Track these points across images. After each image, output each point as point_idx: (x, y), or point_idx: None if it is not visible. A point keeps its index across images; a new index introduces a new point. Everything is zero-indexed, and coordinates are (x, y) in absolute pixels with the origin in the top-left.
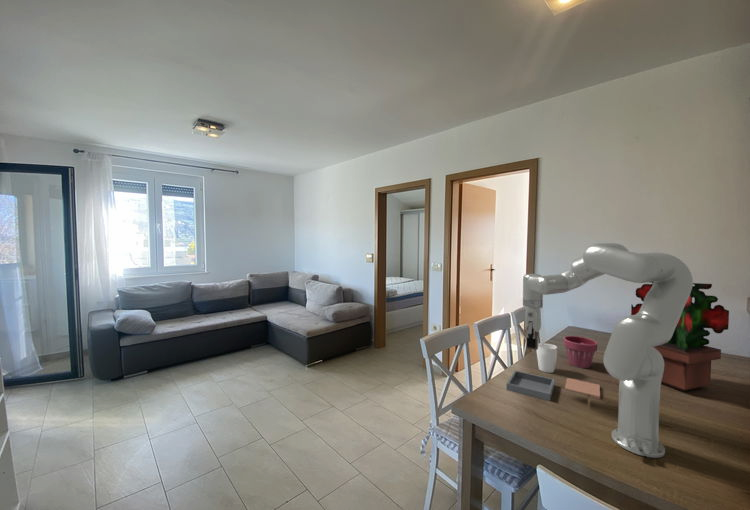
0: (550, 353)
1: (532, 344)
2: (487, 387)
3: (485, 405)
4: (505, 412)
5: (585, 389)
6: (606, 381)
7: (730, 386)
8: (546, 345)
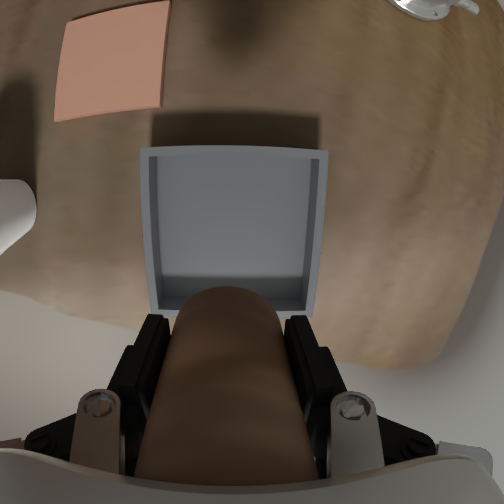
0: None
1: (331, 358)
2: None
3: (414, 322)
4: (432, 270)
5: (128, 43)
6: (22, 28)
7: None
8: None
